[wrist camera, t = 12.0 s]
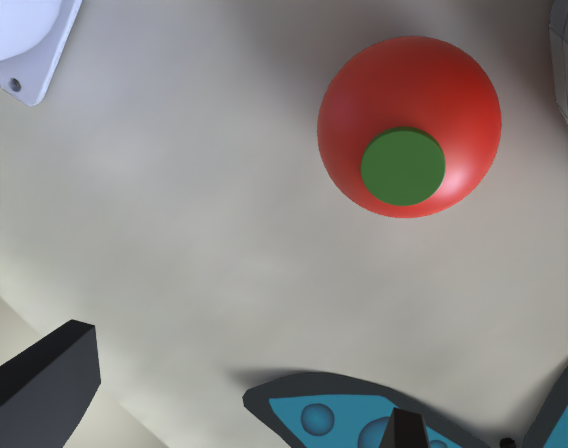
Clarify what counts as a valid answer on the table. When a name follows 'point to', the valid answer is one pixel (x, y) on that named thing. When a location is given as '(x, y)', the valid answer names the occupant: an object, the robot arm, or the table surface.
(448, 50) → the tomato
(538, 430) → the decorative butterfly
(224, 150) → the table surface
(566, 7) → the bowl
